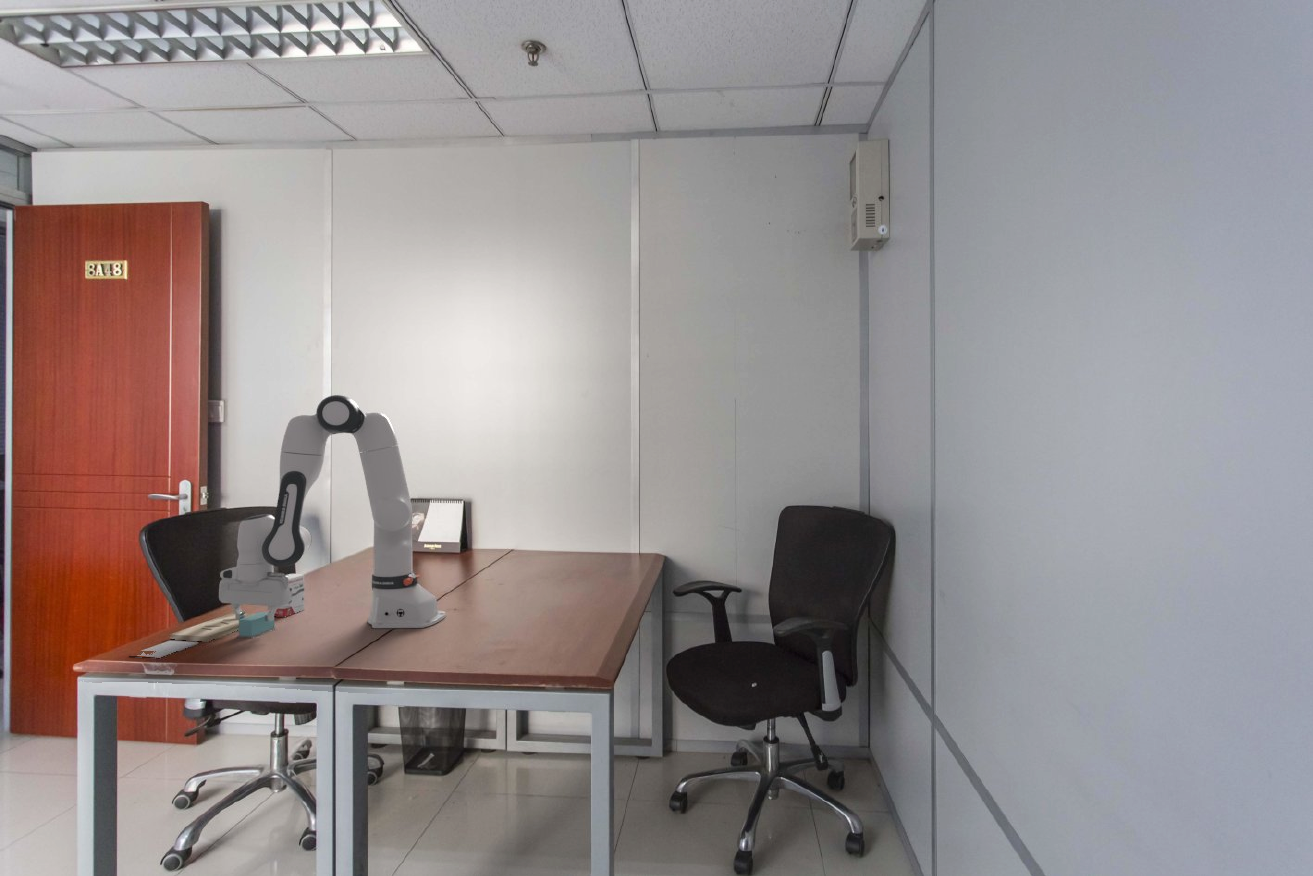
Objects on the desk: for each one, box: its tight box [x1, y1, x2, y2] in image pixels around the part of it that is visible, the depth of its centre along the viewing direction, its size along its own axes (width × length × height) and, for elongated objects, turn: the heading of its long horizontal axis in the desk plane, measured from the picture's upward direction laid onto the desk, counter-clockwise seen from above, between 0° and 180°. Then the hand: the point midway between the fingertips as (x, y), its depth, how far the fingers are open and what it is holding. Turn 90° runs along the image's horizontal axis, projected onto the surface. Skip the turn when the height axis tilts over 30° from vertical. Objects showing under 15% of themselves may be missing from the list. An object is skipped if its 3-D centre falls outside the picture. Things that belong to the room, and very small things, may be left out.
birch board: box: [169, 612, 255, 643], centre depth 177 cm, size 12×20×2 cm, turn 171°
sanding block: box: [237, 611, 276, 639], centre depth 174 cm, size 5×8×5 cm, turn 167°
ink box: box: [274, 573, 306, 618], centre depth 193 cm, size 9×5×12 cm, turn 168°
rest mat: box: [137, 639, 199, 659], centre depth 160 cm, size 9×11×1 cm
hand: (254, 619), depth 174 cm, fingers open, 8 cm apart
